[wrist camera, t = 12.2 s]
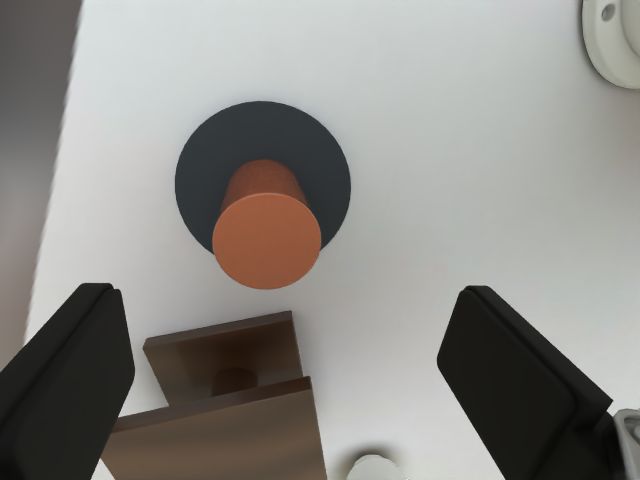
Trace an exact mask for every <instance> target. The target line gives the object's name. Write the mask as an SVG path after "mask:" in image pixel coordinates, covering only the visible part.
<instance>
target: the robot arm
mask: <svg viewBox="0 0 640 480" xmlns="http://www.w3.org/2000/svg"><path fill="white" fill-rule="evenodd" d="M582 23H583V37H584V41H585V45H586V48H587V52H588V55H589V57H590V59H591V61H592V63H593V65H594V67H595V69H596V70H597V71H598V72H599V73H600V74H601V75H602V76H603V77H604V78H605V79H606V80H608V81H609V82H611V83H613V84H615V85H617V86H620V87H625V88H629V89H640V0H583V11H582ZM437 365H438V368H439V370H440V372H441V374H442V375H443V377H444V379H445V380H446V382H447V383H448V385H449V387H450V388H451V390H452V392H453V393H454V395H455V397H456V398H457V400H458V402H459V403H460V405H461V407H462V408H463V410H464V412H465V413H466V415H467V417H468V418H469V420H470V422H471V423H472V425H473V427H474V428H475V430H476V432H477V433H478V435H479V437H480V438H481V440H482V442H483V443H484V445H485V446H486V448H487V450H488V451H489V453H490V455H491V456H492V458H493V460H494V461H495V463H496V465H497V466H498V468H499V470H500V471H501V473H502V475H503V476H504V478H505V480H640V411H638V410H633V409H622V410H619V411H618V412H617V413H616V414H615V415H614V417H612V416H611V415H610V414H609V413H608V412H607V409H608V408H609V406H610V405H611V403H612V402H613V400H612V399H611V398H610V397H609V396H608V395H607V394H606V393H605V392H604V391H602V390H601V389H600V388H599V387H598V386H597V385H596V384H595V383H594V382H593V381H592V380H590V379H589V378H588V377H587V376H586V375H585V374H584V373H583V372H582V371H581V370H580V369H579V368H577V367H576V366H575V365H574V364H573V363H572V362H571V361H570V360H569V359H568V358H567V357H565V356H564V355H563V354H562V353H561V352H560V351H559V350H558V349H557V348H556V347H555V346H553V345H552V344H551V343H550V342H549V341H548V340H547V339H546V338H545V337H544V336H543V335H541V334H540V333H539V332H538V331H537V330H536V329H535V328H534V327H533V326H532V325H531V324H529V323H528V322H527V321H526V320H525V319H524V318H523V317H522V316H521V315H520V314H519V313H517V312H516V311H515V310H514V309H513V308H512V307H511V306H510V305H509V304H508V303H507V302H506V301H504V300H503V299H502V298H501V297H500V296H499V295H498V294H497V293H496V292H495V291H494V290H492V289H491V288H490V287H488V286H466V287H465V288H464V290H463V291H461V292H460V293H459V295H458V298H457V301H456V304H455V307H454V310H453V312H452V315H451V318H450V321H449V324H448V327H447V330H446V333H445V335H444V338H443V341H442V344H441V347H440V350H439V353H438V356H437ZM134 376H135V366H134V360H133V355H132V349H131V344H130V338H129V333H128V327H127V322H126V316H125V311H124V305H123V300H122V294H121V291H120V290H119V289H114V288H113V286H112V284H110V283H83V284H81V285H80V286H79V287H78V288H77V289H76V290H75V291H74V292H73V293H72V295H71V296H70V297H69V298H68V299H67V300H66V301H65V302H64V303H63V305H62V306H61V307H60V308H59V309H58V310H57V311H56V312H55V313H54V315H53V316H52V317H51V318H50V319H49V320H48V321H47V322H46V323H45V324H44V326H43V327H42V328H41V329H40V330H39V331H38V332H37V333H36V334H35V336H34V337H33V338H32V339H31V340H30V341H29V342H28V343H27V344H26V345H25V346H24V347H23V348H22V349H21V350H20V351H19V353H18V354H17V355H16V356H15V357H14V358H13V359H12V360H11V361H10V362H9V363H8V365H7V366H6V367H5V368H4V369H3V370H2V371H1V372H0V480H91V477H92V475H93V473H94V471H95V468H96V466H97V464H98V461H99V459H100V457H101V455H102V452H103V450H104V448H105V445H106V443H107V441H108V438H109V436H110V434H111V432H112V429H113V427H114V425H115V422H116V420H117V418H118V416H119V413H120V411H121V409H122V406H123V404H124V402H125V400H126V397H127V395H128V393H129V390H130V388H131V386H132V383H133V380H134Z"/></svg>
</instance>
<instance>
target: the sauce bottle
mask: <svg viewBox="0 0 640 480" xmlns="http://www.w3.org/2000/svg"><path fill="white" fill-rule="evenodd" d="M347 480H409V479H408V477H407V476H406V475H405V473H404V472H403V471H402V470H401V469H400V468H399V467H398V466H397V465H396V464H395V463H394V462H392V461H391V460H389V459H385V458H383V457H381V456H379V455H371V454H369V455H364V456H362V457H361V458H360V459H358V460H357V461H356V462H355V464H354V466H353V468H352V470H351V471H350V472H349V474H348V476H347Z"/></svg>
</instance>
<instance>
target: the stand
mask: <svg viewBox="0 0 640 480" xmlns="http://www.w3.org/2000/svg"><path fill="white" fill-rule="evenodd" d="M143 350H144V352H145V355H146V357H147V359H148V361H149V363H150V365H151V367H152V370H153V372H154V374H155V376H156V378H157V380H158V383H159V385H160V387H161V389H162V391H163V393H164V395H165V398H166V400H167V402H168V404H169V407H164V408H159V409H155V410H150V411H146V412H141V413H137V414H132V415H127V416H123V417H118V418H117V420H116V422H115V425H114V427H113V429H112V432H111V434H110V436H109V438H108V441H107V443H106V445H105V448H104V450H103V452H102V455H101V457H100V458H101V460H102V461H103V462H104V464H105V465H106V467H107V468H108V470H109V471H110V473H111V474H112V476H113V477H114V479H115V480H327V475H326V469H325V463H324V457H323V450H322V444H321V438H320V432H319V426H318V420H317V414H316V408H315V402H314V396H313V390H312V384H311V379H310V376H306V377H303V373H302V367H301V362H300V356H299V350H298V345H297V339H296V334H295V328H294V322H293V317H292V311H287V312H282V313H277V314H272V315H266V316H261V317H256V318H251V319H246V320H241V321H236V322H230V323H225V324H220V325H215V326H210V327H205V328H200V329H194V330H189V331H184V332H179V333H174V334H169V335H164V336H158V337H153V338H148V339H146V341H145V343H144V346H143Z"/></svg>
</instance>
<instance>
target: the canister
mask: <svg viewBox="0 0 640 480" xmlns="http://www.w3.org/2000/svg"><path fill="white" fill-rule="evenodd" d="M320 247H321V232H320V228H319V225H318V223H317V220H316V218H315V216H314V213H313V211H312V209H311V207H310V204H309V202H308V200H307V198H306V195H305V193H304V191H303V189H302V186H301V184H300V182H299V180H298V178H297V176H296V175H295V174H294V172H293V171H292V170H291V169H289V168H288V167H287V166H285V165H284V164H282V163H280V162H277V161H274V160H269V159H258V160H253V161H250V162H247V163H245V164H244V165H242V166H240V167H239V168H238V169H237V170H236V171H235V172H234V173H233V175H232V176H231V178H230V179H229V181H228V184H227V187H226V191H225V194H224V198H223V201H222V204H221V208H220V211H219V215H218V218H217V221H216V225H215V228H214V233H213V251H214V254H215V257H216V260H217V262H218V263H219V265H220V267H221V268H222V269H223V271H224V272H225V273H226V274H227V275H228V276H229V277H231V278H232V279H233V280H235V281H236V282H238V283H240V284H242V285H245V286H247V287H251V288H255V289H266V290H267V289H277V288H281V287H285V286H288V285H290V284H292V283H294V282H296V281H298V280H299V279H301V278H302V277H303V276H304V275H305V274H307V273H308V271H309V270H310V269H311V268H312V266H313V265H314V263H315V262H316V260H317V258H318V255H319V252H320Z"/></svg>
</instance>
